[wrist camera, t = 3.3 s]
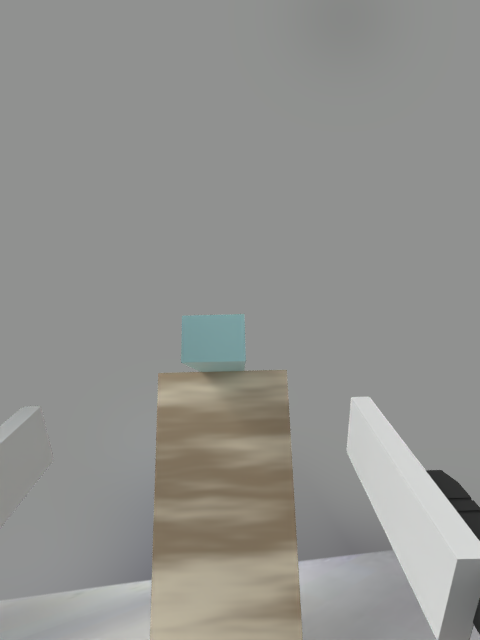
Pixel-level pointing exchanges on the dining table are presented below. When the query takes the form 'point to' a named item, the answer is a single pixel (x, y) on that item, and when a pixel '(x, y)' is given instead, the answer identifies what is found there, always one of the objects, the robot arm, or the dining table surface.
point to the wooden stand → (224, 509)
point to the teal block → (214, 342)
